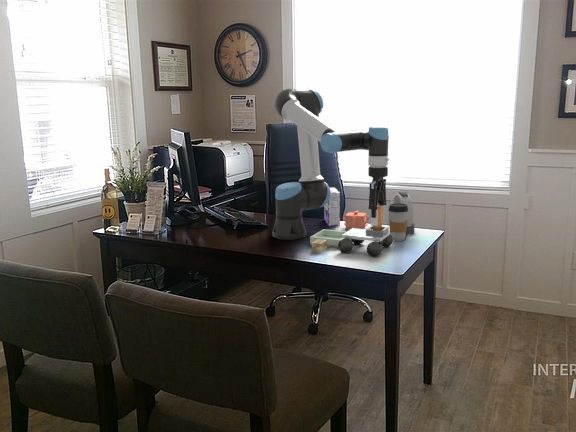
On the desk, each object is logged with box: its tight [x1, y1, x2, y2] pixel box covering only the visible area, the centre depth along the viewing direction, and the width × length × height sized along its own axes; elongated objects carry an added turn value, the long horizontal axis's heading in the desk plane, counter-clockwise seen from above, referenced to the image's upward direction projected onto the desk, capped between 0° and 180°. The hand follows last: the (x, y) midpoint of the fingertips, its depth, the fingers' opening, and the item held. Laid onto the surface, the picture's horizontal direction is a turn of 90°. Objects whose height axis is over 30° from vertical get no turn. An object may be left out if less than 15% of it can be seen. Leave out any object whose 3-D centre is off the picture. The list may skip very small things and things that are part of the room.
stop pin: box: [373, 205, 383, 230], centre depth 219 cm, size 4×4×11 cm
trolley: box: [337, 224, 394, 258], centre depth 221 cm, size 18×16×9 cm
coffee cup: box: [388, 203, 408, 242], centre depth 235 cm, size 8×8×15 cm
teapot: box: [342, 210, 369, 231], centre depth 255 cm, size 12×15×8 cm
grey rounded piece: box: [392, 191, 415, 236], centre depth 248 cm, size 16×10×18 cm, turn 4°
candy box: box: [323, 187, 341, 227], centre depth 267 cm, size 14×6×16 cm, turn 5°
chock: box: [311, 239, 328, 254], centre depth 222 cm, size 4×6×4 cm, turn 153°
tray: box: [309, 228, 351, 249], centre depth 234 cm, size 14×14×4 cm
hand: (377, 223), depth 220 cm, fingers open, 7 cm apart
